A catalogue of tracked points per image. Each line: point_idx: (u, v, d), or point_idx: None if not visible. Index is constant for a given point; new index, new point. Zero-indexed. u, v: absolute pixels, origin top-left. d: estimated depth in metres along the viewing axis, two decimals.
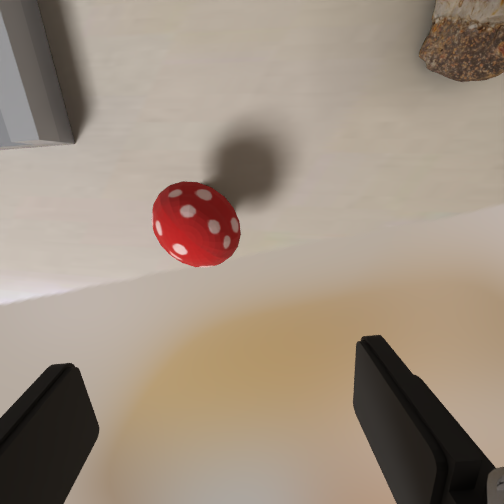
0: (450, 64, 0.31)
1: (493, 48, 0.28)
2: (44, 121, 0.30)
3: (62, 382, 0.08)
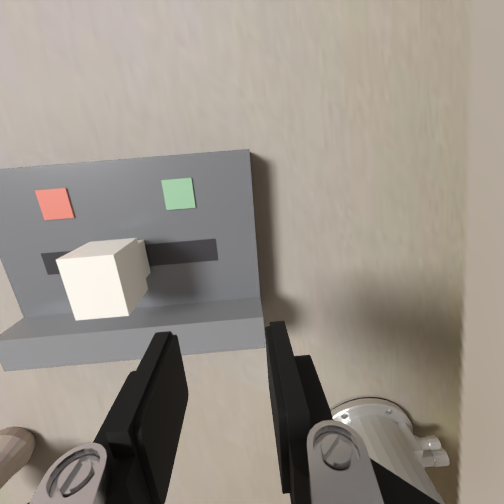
0: None
1: None
2: None
3: (171, 345, 0.09)
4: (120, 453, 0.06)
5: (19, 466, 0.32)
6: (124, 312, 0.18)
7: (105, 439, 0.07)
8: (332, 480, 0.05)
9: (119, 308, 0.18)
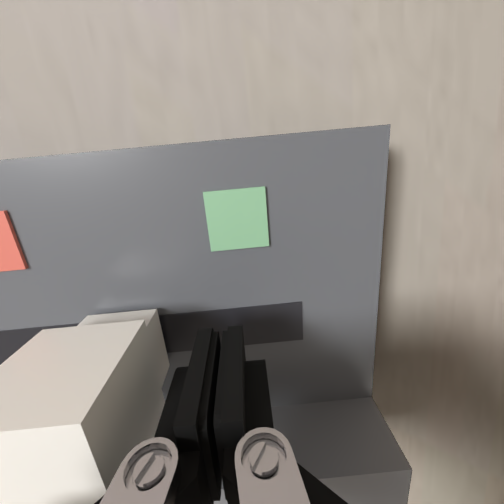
0: None
1: None
2: None
3: (215, 342, 0.09)
4: (186, 447, 0.06)
5: None
6: None
7: (166, 434, 0.07)
8: (261, 492, 0.05)
9: None
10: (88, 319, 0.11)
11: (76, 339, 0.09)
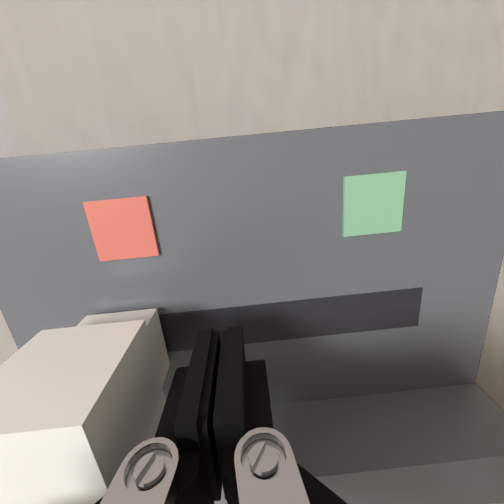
0: None
1: None
2: None
3: (216, 342, 0.09)
4: (186, 447, 0.06)
5: None
6: None
7: (166, 434, 0.07)
8: (260, 492, 0.05)
9: None
10: (87, 319, 0.11)
11: (76, 339, 0.09)
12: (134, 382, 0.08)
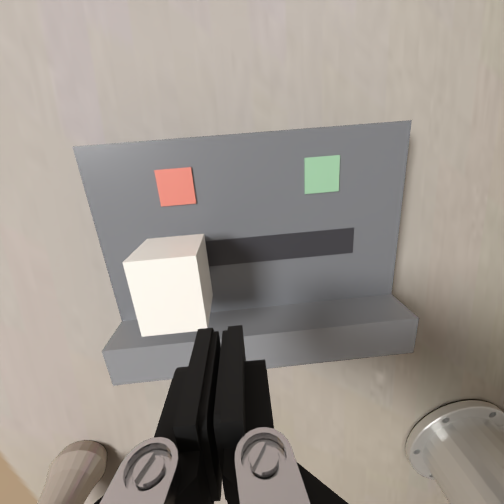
0: None
1: None
2: None
3: (215, 342, 0.09)
4: (186, 447, 0.06)
5: (95, 484, 0.28)
6: (202, 326, 0.15)
7: (166, 434, 0.07)
8: (261, 491, 0.05)
9: (196, 321, 0.15)
10: None
11: (170, 240, 0.16)
12: (203, 259, 0.16)
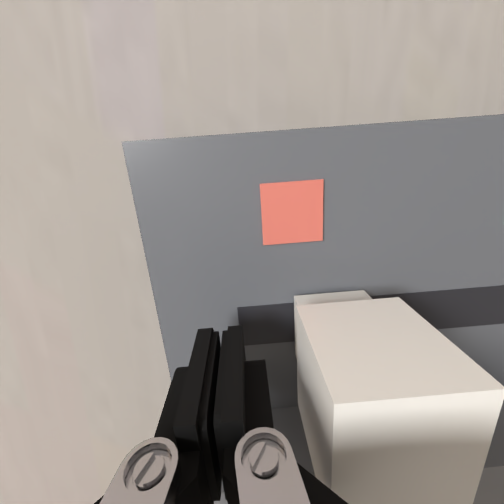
0: None
1: None
2: None
3: (216, 342, 0.09)
4: (186, 448, 0.06)
5: None
6: None
7: (166, 434, 0.07)
8: (261, 491, 0.05)
9: None
10: (301, 299, 0.11)
11: (353, 314, 0.09)
12: None
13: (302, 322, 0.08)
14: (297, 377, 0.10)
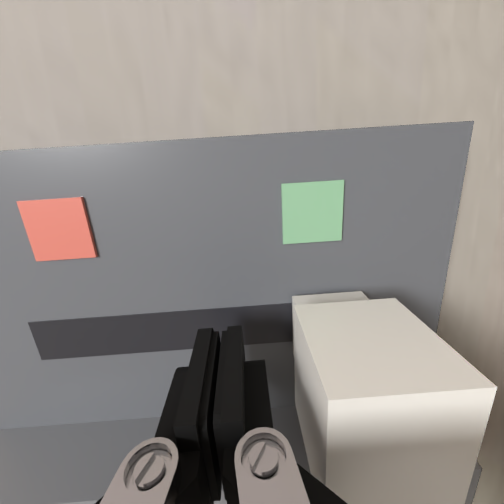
0: None
1: None
2: None
3: (216, 342, 0.09)
4: (186, 448, 0.06)
5: None
6: None
7: (166, 434, 0.07)
8: (260, 492, 0.05)
9: None
10: (299, 299, 0.11)
11: (349, 314, 0.09)
12: None
13: (299, 321, 0.09)
14: None
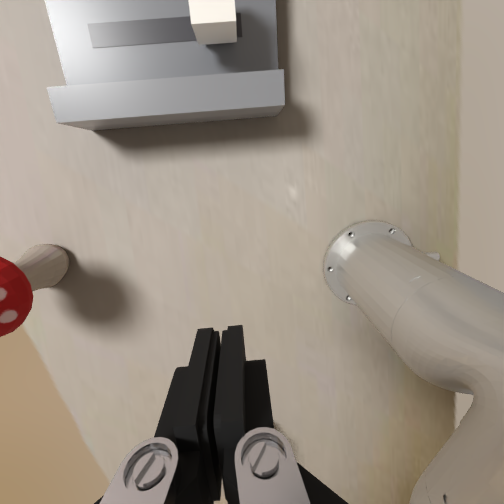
0: None
1: None
2: (87, 123, 0.27)
3: (215, 342, 0.09)
4: (186, 447, 0.06)
5: (56, 273, 0.35)
6: (232, 16, 0.21)
7: (166, 434, 0.07)
8: (261, 491, 0.05)
9: (229, 11, 0.21)
10: None
11: None
12: None
13: None
14: None
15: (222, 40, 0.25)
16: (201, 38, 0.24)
